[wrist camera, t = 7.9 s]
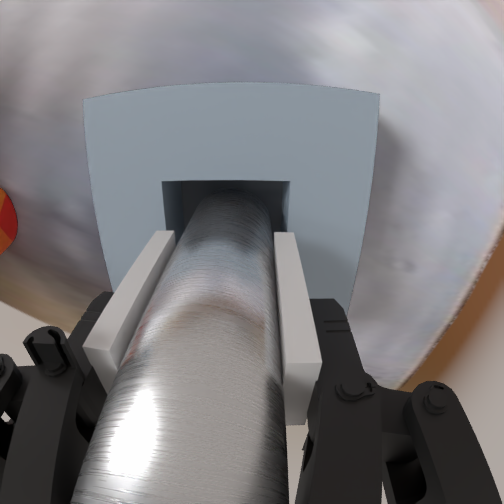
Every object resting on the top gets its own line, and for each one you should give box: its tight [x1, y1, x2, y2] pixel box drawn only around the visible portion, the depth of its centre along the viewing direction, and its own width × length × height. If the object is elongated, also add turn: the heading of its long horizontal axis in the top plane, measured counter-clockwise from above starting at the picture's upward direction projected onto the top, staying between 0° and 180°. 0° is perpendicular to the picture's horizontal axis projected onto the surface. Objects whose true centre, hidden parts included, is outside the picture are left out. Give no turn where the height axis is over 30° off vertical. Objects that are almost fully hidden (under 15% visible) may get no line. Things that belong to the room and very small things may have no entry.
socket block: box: [83, 82, 380, 317], centre depth 16 cm, size 13×14×4 cm
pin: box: [70, 187, 289, 504], centre depth 10 cm, size 4×4×14 cm
